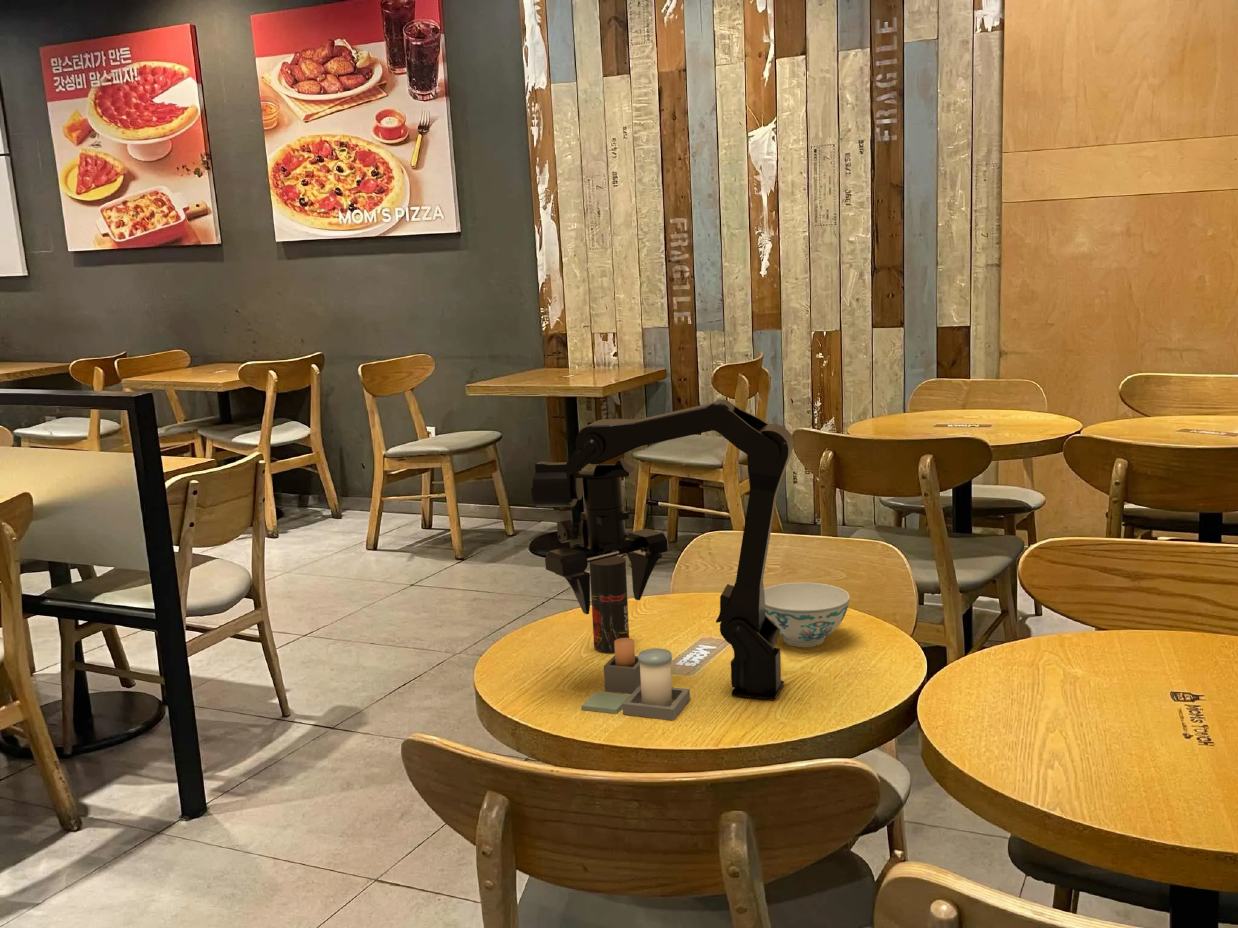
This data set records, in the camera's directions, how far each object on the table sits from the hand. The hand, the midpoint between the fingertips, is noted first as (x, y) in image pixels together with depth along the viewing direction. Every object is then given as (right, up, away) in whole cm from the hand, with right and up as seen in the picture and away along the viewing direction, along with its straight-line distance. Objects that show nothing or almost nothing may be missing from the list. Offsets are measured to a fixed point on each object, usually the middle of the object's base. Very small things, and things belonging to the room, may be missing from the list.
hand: (612, 606), depth 166 cm
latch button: (+2, -9, 0) cm, 9 cm away
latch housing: (+2, -12, 0) cm, 12 cm away
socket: (+7, -13, -8) cm, 17 cm away
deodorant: (0, -9, +18) cm, 20 cm away
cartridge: (+7, -13, -8) cm, 17 cm away
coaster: (-1, -13, -6) cm, 15 cm away
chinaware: (+32, -8, +17) cm, 37 cm away
